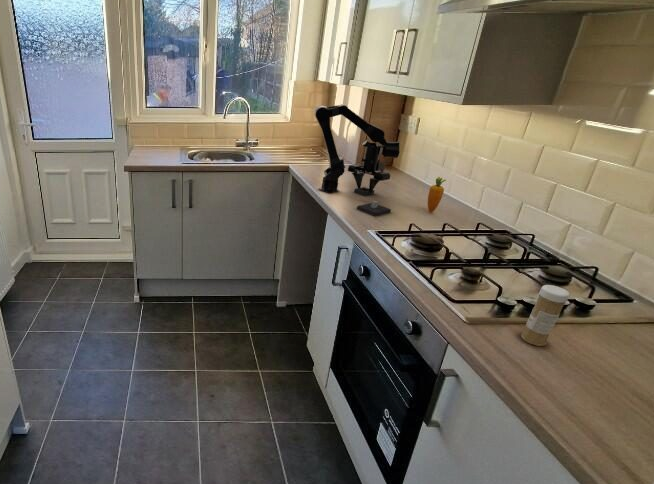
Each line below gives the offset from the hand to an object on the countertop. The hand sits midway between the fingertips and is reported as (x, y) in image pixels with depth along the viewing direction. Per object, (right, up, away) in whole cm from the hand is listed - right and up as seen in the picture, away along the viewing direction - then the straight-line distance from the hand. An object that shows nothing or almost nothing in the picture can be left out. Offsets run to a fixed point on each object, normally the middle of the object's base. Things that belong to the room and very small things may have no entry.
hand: (364, 190), depth 190 cm
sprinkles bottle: (-6, -46, -97) cm, 107 cm away
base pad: (-6, -11, -21) cm, 24 cm away
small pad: (0, -1, +1) cm, 1 cm away
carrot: (+17, -12, -22) cm, 30 cm away
